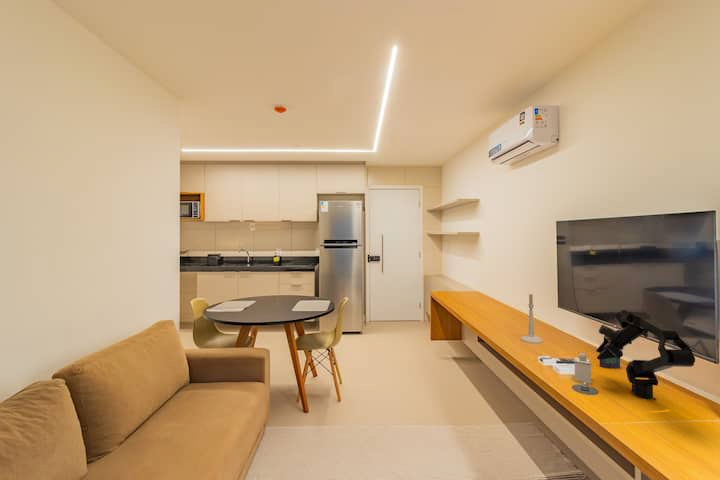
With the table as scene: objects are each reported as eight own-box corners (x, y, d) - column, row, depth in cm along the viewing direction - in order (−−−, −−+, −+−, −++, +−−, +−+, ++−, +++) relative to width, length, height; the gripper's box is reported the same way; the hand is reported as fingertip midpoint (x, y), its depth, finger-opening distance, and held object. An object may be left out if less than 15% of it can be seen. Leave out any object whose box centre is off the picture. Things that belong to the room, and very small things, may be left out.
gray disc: (604, 396, 146) (604, 393, 146) (583, 398, 144) (583, 395, 144) (586, 385, 155) (585, 383, 155) (566, 387, 154) (566, 385, 154)
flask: (618, 366, 176) (618, 346, 175) (621, 369, 173) (621, 347, 173) (598, 365, 178) (598, 345, 177) (601, 367, 175) (601, 347, 175)
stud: (591, 390, 148) (591, 383, 148) (584, 391, 148) (584, 384, 148) (585, 387, 152) (585, 380, 152) (578, 387, 151) (578, 381, 151)
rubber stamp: (591, 380, 161) (590, 352, 160) (591, 385, 155) (591, 357, 155) (574, 377, 164) (574, 350, 164) (574, 382, 159) (574, 354, 158)
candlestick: (545, 343, 213) (545, 295, 212) (524, 343, 215) (523, 295, 214) (538, 337, 226) (538, 292, 225) (517, 336, 228) (517, 291, 227)
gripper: (610, 315, 161) (582, 334, 167) (613, 326, 145) (582, 347, 152) (631, 334, 157) (602, 353, 163) (636, 347, 141) (603, 368, 148)
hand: (597, 354), depth 157 cm, fingers open, 9 cm apart
